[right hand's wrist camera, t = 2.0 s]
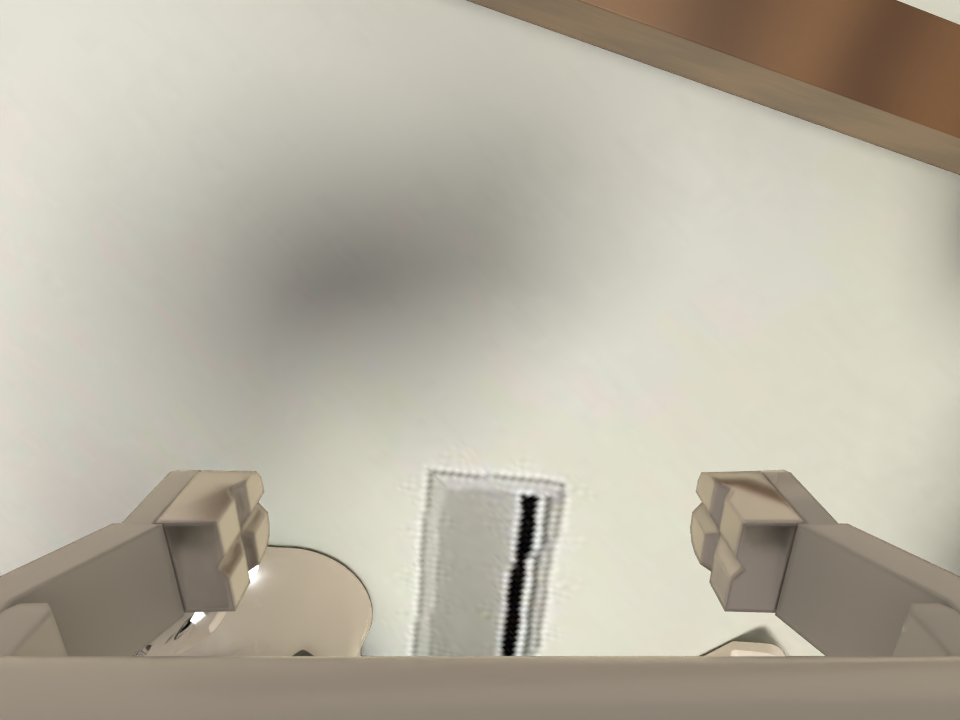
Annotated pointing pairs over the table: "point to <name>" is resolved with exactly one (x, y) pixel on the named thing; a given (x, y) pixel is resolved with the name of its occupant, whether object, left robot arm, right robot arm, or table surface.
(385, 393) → the table surface
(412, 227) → the table surface
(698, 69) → the post
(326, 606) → the right robot arm
